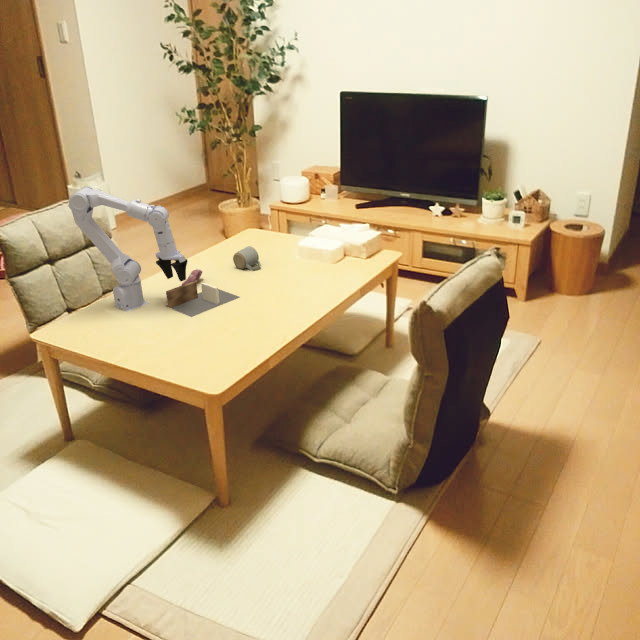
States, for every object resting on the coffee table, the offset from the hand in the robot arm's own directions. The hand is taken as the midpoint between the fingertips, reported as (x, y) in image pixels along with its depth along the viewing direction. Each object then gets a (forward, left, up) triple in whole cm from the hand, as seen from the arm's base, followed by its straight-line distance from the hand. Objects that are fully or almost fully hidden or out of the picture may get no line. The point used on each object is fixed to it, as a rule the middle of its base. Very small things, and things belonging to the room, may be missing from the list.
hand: (176, 279), depth 232 cm
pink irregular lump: (+15, +12, -10) cm, 22 cm away
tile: (+8, -7, -9) cm, 14 cm away
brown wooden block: (+1, 0, -9) cm, 9 cm away
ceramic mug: (+41, +9, -10) cm, 44 cm away
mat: (+6, -5, -10) cm, 13 cm away
